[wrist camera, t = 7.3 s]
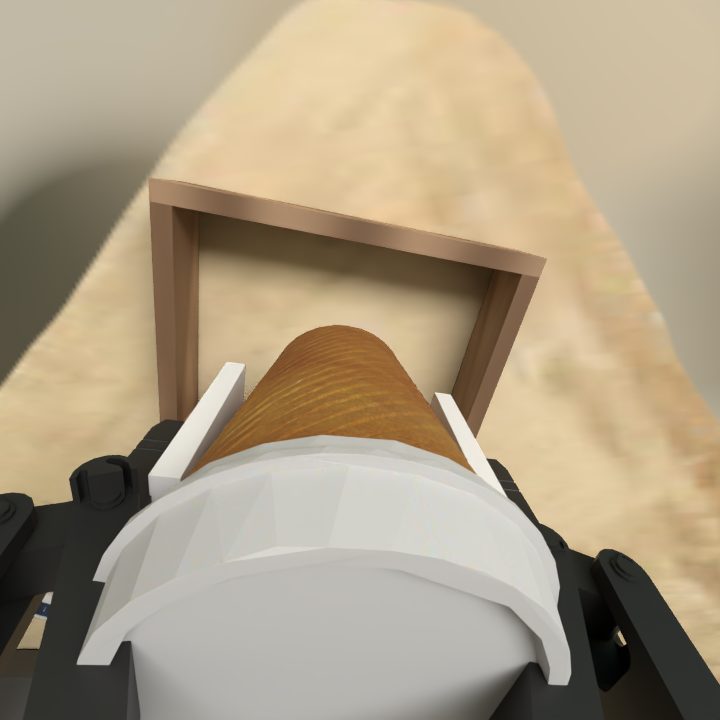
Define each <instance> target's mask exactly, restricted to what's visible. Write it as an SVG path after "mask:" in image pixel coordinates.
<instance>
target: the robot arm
mask: <svg viewBox="0 0 720 720" xmlns="http://www.w3.org/2000/svg"><path fill="white" fill-rule="evenodd" d="M245 368H246V364H240V363H233V362H226V364H225V365H224V367H223V368H222V370H221V371H220V373H219V374H218V375H217V377H216V378H215V380H214V381H213V383H212V384H211V385H210V387H209V388H208V390H207V391H206V393H205V394H204V396H203V397H202V398H201V400H200V401H199V403H198V404H197V406H196V407H195V408H194V410H193V411H192V413H191V414H190V416H189V417H188V419H187V420H186V421H177V420H169V419H165V420H164V421H162V422H160V423H159V424H157V425H155V426H154V427H152V428H151V429H150V431H149V432H148V433H147V434H146V436H145V437H144V439H143V440H141V442H140V443H139V444H138V445H137V446H136V449H134V450H133V451H132V453H131V454H130V455H129V456H128V457H125V456H121V455H107V456H103V457H99V458H95V459H92V460H90V461H88V462H86V463H84V464H82V465H81V466H80V467H78V468H77V469H76V470H75V471H74V472H73V473H72V475H71V477H70V478H69V481H70V486H71V491H72V496H73V501H69V502H64V503H57V504H50V505H43V506H35V507H34V503H33V500H32V498H31V497H29V496H27V495H26V494H21V493H6V494H0V720H140V714H141V713H140V705H139V698H138V690H137V683H136V675H135V667H134V660H133V652H132V644H131V641H122V642H121V644H120V646H119V648H118V650H117V651H116V653H115V655H114V657H113V659H112V661H111V663H110V665H77V661H78V658H79V655H80V652H81V649H82V647H83V644H84V641H85V638H86V635H87V633H88V630H89V627H90V624H91V622H92V619H93V616H94V613H95V611H96V608H97V605H98V602H99V600H100V597H101V594H102V591H103V588H104V586H105V582H100V581H93V578H94V576H95V573H96V571H97V569H98V566H99V564H100V561H101V559H102V556H103V554H104V553H105V551H106V550H107V549H108V547H109V546H110V545H111V543H112V542H113V541H114V539H115V538H116V537H117V535H118V534H119V533H120V531H121V530H122V529H123V527H124V526H125V525H126V523H127V522H128V521H129V519H130V518H131V517H133V516H134V515H135V514H137V513H138V512H139V511H141V510H142V509H144V508H145V507H146V506H148V505H149V504H150V503H152V502H153V501H154V500H156V499H157V498H158V497H160V496H161V495H162V494H164V493H165V492H166V491H168V490H169V489H170V488H172V487H173V486H175V485H176V484H178V483H180V482H181V481H183V480H184V479H186V478H187V476H188V475H189V474H190V472H191V471H192V470H193V468H194V467H195V465H196V464H197V463H198V462H199V461H200V459H201V458H202V457H203V456H204V455H205V453H206V452H207V450H208V449H209V448H210V446H211V445H212V444H213V442H214V441H215V440H216V439H217V437H218V436H219V435H220V433H221V432H222V431H223V429H224V428H225V427H226V425H227V424H228V423H229V421H230V420H231V419H232V418H233V417H234V415H235V414H236V412H237V411H238V410H239V408H240V407H241V406H242V405H243V399H244V383H245ZM430 407H431V408H432V410H433V411H434V413H435V415H436V416H437V418H438V419H439V420H440V422H441V423H442V425H443V426H444V428H445V429H446V430H447V431H448V433H449V435H450V437H451V438H452V439H453V440H454V442H455V443H456V444H457V446H458V449H459V450H460V451H461V452H462V453H463V455H464V456H465V457H466V459H467V461H468V464H469V465H471V467H472V468H473V470H474V471H475V472H476V474H477V475H478V476H479V477H481V478H482V479H483V480H484V481H485V482H486V483H488V484H489V485H491V486H492V487H493V488H495V489H496V490H497V491H499V492H500V493H501V494H503V495H504V496H506V497H507V498H508V499H510V500H511V501H512V502H514V503H515V504H516V505H517V506H518V507H519V508H520V510H521V511H522V512H523V513H524V514H525V515H526V516H527V518H528V519H529V520H530V521H531V522H532V523H533V524H534V526H535V527H536V528H537V529H538V530H539V531H540V532H541V534H542V536H543V538H544V540H545V542H546V544H547V546H548V548H549V550H550V552H551V554H552V556H553V558H554V560H555V563H556V568H557V574H558V579H559V585H560V589H559V597H558V604H557V610H558V613H559V616H560V620H561V623H562V626H563V630H564V633H565V636H566V640H567V643H568V646H569V650H570V660H571V676H570V679H569V682H568V685H551V684H548V683H547V680H546V678H545V676H544V674H543V671H542V669H541V667H540V665H539V664H538V663H535V662H529V663H528V665H527V666H526V667H525V669H524V670H523V671H522V673H521V674H520V676H519V677H518V678H517V680H516V681H515V683H514V684H513V686H512V687H511V688H510V690H509V691H508V693H507V694H506V696H505V697H504V698H503V700H502V701H501V703H500V704H499V705H498V707H497V708H496V710H495V711H494V713H493V714H492V715H491V717H490V718H489V720H720V685H719V683H718V682H717V680H716V679H715V677H714V675H713V674H712V672H711V671H710V669H709V668H708V666H707V665H706V663H705V662H704V660H703V659H702V657H701V655H700V654H699V652H698V651H697V649H696V648H695V646H694V645H693V643H692V642H691V640H690V639H689V637H688V635H687V634H686V632H685V631H684V629H683V628H682V626H681V625H680V623H679V622H678V620H677V619H676V617H675V616H674V614H673V612H672V611H671V609H670V608H669V606H668V605H667V603H666V602H665V600H664V599H663V597H662V596H661V594H660V592H659V591H658V589H657V588H656V586H655V585H654V583H653V582H652V580H651V579H650V577H649V576H648V575H647V573H646V572H645V571H644V570H643V568H642V567H641V566H639V565H638V564H637V563H636V562H635V561H634V560H632V559H631V558H629V557H628V556H626V555H624V554H623V553H620V552H618V551H615V550H613V549H603V550H601V551H600V552H599V553H598V555H597V556H596V558H593V557H590V556H587V555H585V554H582V553H579V552H576V551H574V550H571V549H569V547H568V545H567V543H566V542H565V541H564V540H563V538H562V537H561V536H560V535H559V534H557V533H556V532H555V531H554V530H552V529H551V528H549V527H547V526H545V525H543V524H540V523H539V522H538V520H537V518H536V517H535V515H534V513H533V512H532V510H531V509H530V507H529V505H528V504H527V502H526V500H525V499H524V497H523V495H522V494H521V492H519V489H518V487H517V485H516V484H515V483H514V480H513V479H512V477H511V475H510V474H509V472H508V470H507V469H506V468H505V467H504V466H502V465H501V464H500V463H499V462H498V461H497V460H495V459H487V458H485V456H484V454H483V452H482V450H481V449H480V447H479V445H478V443H477V441H476V439H475V438H474V436H473V434H472V432H471V430H470V429H469V427H468V425H467V423H466V421H465V419H464V418H463V416H462V414H461V412H460V410H459V409H458V407H457V405H456V403H455V401H454V399H453V398H452V396H451V395H450V394H443V393H436V392H435V393H434V396H433V399H432V402H431V405H430ZM48 592H53V595H52V599H51V604H50V608H49V612H48V616H47V620H46V624H45V629H44V633H43V637H42V641H41V645H40V649H39V650H16V649H17V647H18V645H19V643H20V641H21V639H22V638H23V636H24V634H25V632H26V630H27V628H28V626H29V625H30V623H31V621H32V619H33V617H34V615H35V613H36V612H37V610H38V608H39V606H40V604H41V602H42V600H43V599H44V597H45V595H46V593H48ZM619 631H621V633H622V635H623V637H624V639H625V641H626V643H627V644H626V645H623V643H622V642H621V640H620V638H619V636H618V634H617V633H618V632H619Z"/></svg>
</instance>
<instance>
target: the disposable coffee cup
mask: <svg viewBox="0 0 720 720" xmlns="http://www.w3.org/2000/svg"><path fill="white" fill-rule="evenodd" d="M93 581H100V582H105V586H104V588H103V591H102V594H101V597H100V600H99V602H98V605H97V608H96V611H95V613H94V616H93V619H92V622H91V624H90V627H89V630H88V633H87V635H86V638H85V641H84V644H83V647H82V649H81V652H80V655H79V658H78V661H77V665H110V663H111V661H112V659H113V657H114V655H115V653H116V651H117V650H118V648H119V646H120V644H121V642H122V641H131V644H132V652H133V660H134V667H135V675H136V683H137V690H138V698H139V705H140V713H141V714H140V720H489V718H490V717H491V715H492V714H493V713H494V711H495V710H496V708H497V707H498V705H499V704H500V703H501V701H502V700H503V698H504V697H505V696H506V694H507V693H508V691H509V690H510V688H511V687H512V686H513V684H514V683H515V681H516V680H517V678H518V677H519V676H520V674H521V673H522V671H523V670H524V669H525V667H526V666H527V665H528V663H529V662H535V663H538V664H539V665H540V667H541V669H542V671H543V674H544V676H545V678H546V680H547V683H548V684H551V685H568V682H569V679H570V676H571V660H570V650H569V646H568V643H567V640H566V636H565V633H564V630H563V626H562V623H561V620H560V616H559V613H558V610H557V604H558V597H559V589H560V585H559V579H558V574H557V568H556V563H555V560H554V558H553V556H552V554H551V552H550V550H549V548H548V546H547V544H546V542H545V540H544V538H543V536H542V534H541V532H540V531H539V530H538V529H537V528H536V527H535V526H534V524H533V523H532V522H531V521H530V520H529V519H528V518H527V516H526V515H525V514H524V513H523V512H522V511H521V510H520V508H519V507H518V506H517V505H516V504H515V503H514V502H512V501H511V500H510V499H508V498H507V497H506V496H504V495H503V494H501V493H500V492H499V491H497V490H496V489H495V488H493V487H492V486H491V485H489V484H488V483H486V482H485V481H484V480H483V479H482V478H481V477H479V476H478V475H477V474H476V472H475V471H474V470H473V468H472V467H471V465H469V464H468V461H467V459H466V457H465V456H464V455H463V453H462V452H461V451H460V450H459V449H458V446H457V444H456V443H455V442H454V440H453V439H452V438H451V437H450V435H449V433H448V431H447V430H446V429H445V428H444V426H443V425H442V423H441V422H440V420H439V419H438V418H437V416H436V415H435V413H434V411H433V410H432V408H431V407H430V406H429V404H428V402H427V401H426V400H425V399H424V398H423V395H422V394H421V393H420V391H419V390H418V389H417V387H416V385H415V384H414V383H413V381H412V380H411V378H410V377H409V376H408V374H407V372H406V371H405V370H404V368H403V367H402V366H401V364H400V362H399V361H398V360H397V358H396V357H395V355H394V353H393V352H392V350H391V349H390V348H389V347H388V346H387V345H386V344H385V343H384V342H383V341H382V340H380V339H379V338H378V337H376V336H375V335H373V334H371V333H369V332H367V331H365V330H363V329H359V328H354V327H350V326H343V325H332V326H326V327H319V328H316V329H314V330H311V331H308V332H306V333H304V334H302V335H300V336H299V337H297V338H296V339H295V340H293V341H292V342H291V343H290V344H289V345H288V346H287V347H286V348H285V349H284V351H283V352H282V353H281V355H280V356H279V358H278V359H277V360H276V362H275V363H274V364H273V366H272V367H271V368H270V369H269V371H268V372H267V374H266V375H265V376H264V377H263V379H262V380H261V381H260V382H259V383H258V385H257V386H256V388H255V389H254V390H253V392H252V393H251V394H250V396H249V397H248V398H247V400H246V401H245V402H244V403H243V405H242V406H241V407H240V408H239V410H238V411H237V412H236V414H235V415H234V417H233V418H232V419H231V420H230V421H229V423H228V424H227V425H226V427H225V428H224V429H223V431H222V432H221V433H220V435H219V436H218V437H217V439H216V440H215V441H214V442H213V444H212V445H211V446H210V448H209V449H208V450H207V452H206V453H205V455H204V456H203V457H202V458H201V459H200V461H199V462H198V463H197V464H196V465H195V467H194V468H193V470H192V471H191V472H190V474H189V475H188V476H187V478H186V479H184V480H183V481H181V482H180V483H178V484H176V485H175V486H173V487H172V488H170V489H169V490H168V491H166V492H165V493H164V494H162V495H161V496H160V497H158V498H157V499H156V500H154V501H153V502H152V503H150V504H149V505H148V506H146V507H145V508H144V509H142V510H141V511H139V512H138V513H137V514H135V515H134V516H133V517H131V518H130V519H129V521H128V522H127V523H126V525H125V526H124V527H123V529H122V530H121V531H120V533H119V534H118V535H117V537H116V538H115V539H114V541H113V542H112V543H111V545H110V546H109V547H108V549H107V550H106V551H105V553H104V554H103V556H102V559H101V561H100V564H99V566H98V569H97V571H96V573H95V576H94V578H93Z"/></svg>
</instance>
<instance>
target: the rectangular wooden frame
mask: <svg viewBox="0 0 720 720" xmlns="http://www.w3.org/2000/svg"><path fill="white" fill-rule="evenodd" d="M148 179H149V200H150V221H151V241H152V262H153V283H154V304H155V324H156V345H157V366H158V387H159V407H160V422H162V421H164V420H165V419H169V420H177V421H186V420H187V419H188V417H189V416H190V414H191V413H192V411H193V410H194V408H195V407H196V406H197V404H198V403H199V400H198V274H199V211H202V212H207V213H212V214H217V215H222V216H227V217H232V218H238V219H243V220H248V221H253V222H258V223H263V224H268V225H273V226H278V227H284V228H289V229H294V230H299V231H304V232H309V233H314V234H319V235H324V236H330V237H335V238H340V239H345V240H350V241H355V242H360V243H365V244H370V245H376V246H381V247H386V248H391V249H396V250H401V251H406V252H411V253H416V254H422V255H427V256H432V257H437V258H442V259H447V260H452V261H457V262H463V263H468V264H473V265H478V266H483V267H488V268H493V269H494V271H493V274H492V277H491V280H490V283H489V286H488V289H487V292H486V295H485V298H484V301H483V304H482V307H481V309H480V312H479V315H478V318H477V321H476V324H475V327H474V330H473V333H472V336H471V339H470V342H469V345H468V348H467V350H466V353H465V356H464V359H463V362H462V365H461V368H460V371H459V374H458V377H457V380H456V383H455V386H454V389H453V391H452V394H451V396H452V398H453V399H454V401H455V403H456V405H457V407H458V409H459V410H460V412H461V414H462V416H463V418H464V419H465V421H466V423H467V425H468V427H469V429H470V430H471V432H472V434H473V436H474V438H475V439H476V436H477V434H478V431H479V429H480V426H481V424H482V421H483V419H484V416H485V414H486V411H487V409H488V406H489V404H490V401H491V399H492V396H493V394H494V391H495V388H496V386H497V383H498V381H499V378H500V376H501V373H502V371H503V368H504V366H505V363H506V361H507V358H508V356H509V353H510V351H511V348H512V346H513V343H514V341H515V338H516V336H517V333H518V331H519V328H520V325H521V323H522V320H523V318H524V315H525V313H526V310H527V308H528V305H529V303H530V300H531V298H532V295H533V293H534V290H535V288H536V285H537V283H538V280H539V278H540V275H541V273H542V270H543V268H544V265H545V263H546V260H547V259H546V258H542V257H539V256H535V255H532V254H529V253H525V252H522V251H518V250H514V249H509V248H504V247H500V246H495V245H490V244H485V243H480V242H475V241H470V240H465V239H460V238H455V237H451V236H446V235H441V234H436V233H431V232H426V231H421V230H416V229H411V228H407V227H402V226H397V225H392V224H387V223H382V222H377V221H372V220H367V219H363V218H358V217H353V216H348V215H343V214H338V213H333V212H328V211H323V210H318V209H314V208H309V207H304V206H299V205H294V204H289V203H284V202H279V201H274V200H270V199H265V198H260V197H255V196H250V195H245V194H240V193H235V192H230V191H226V190H221V189H216V188H211V187H206V186H201V185H196V184H191V183H186V182H181V181H173V180H164V179H155V178H148Z"/></svg>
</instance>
